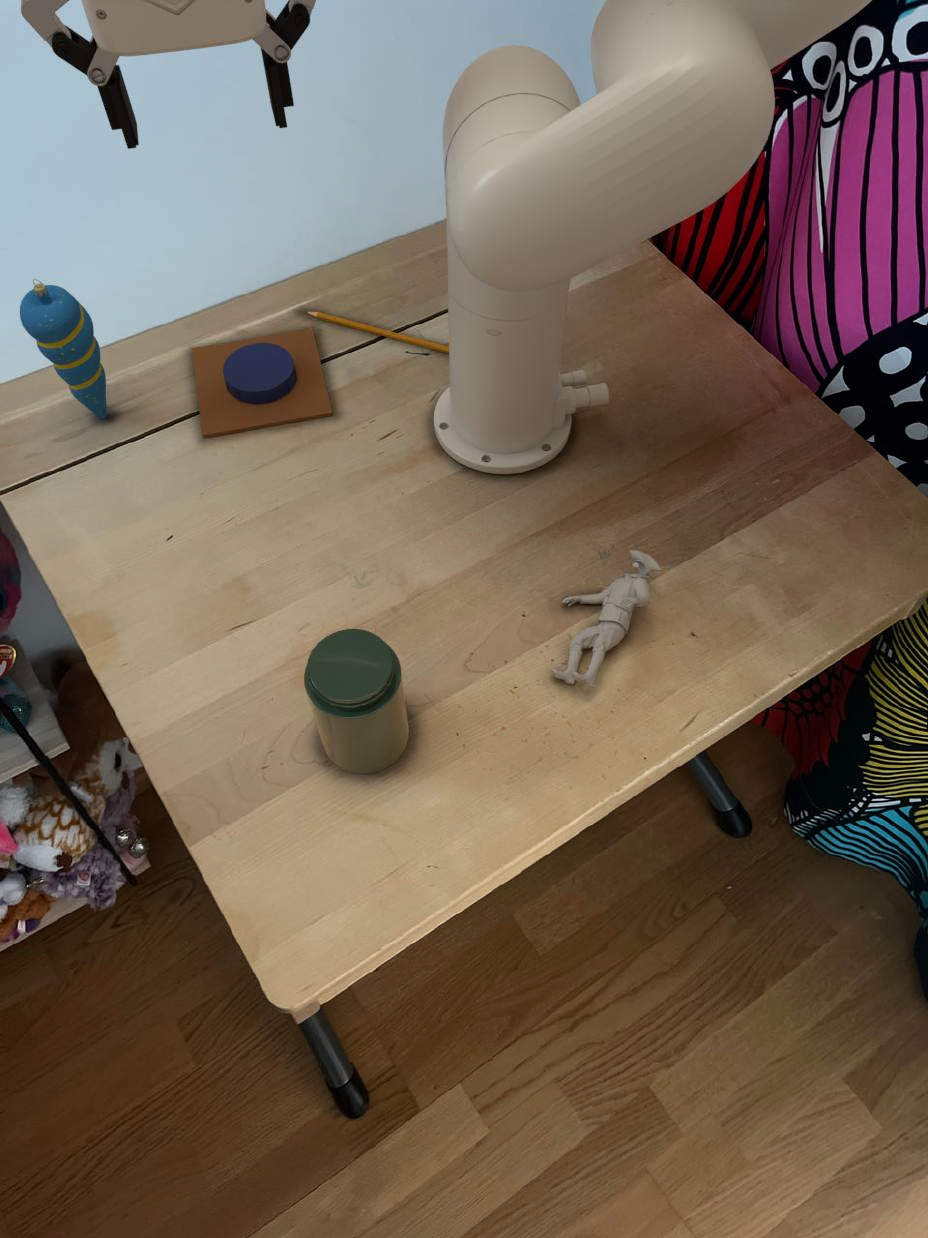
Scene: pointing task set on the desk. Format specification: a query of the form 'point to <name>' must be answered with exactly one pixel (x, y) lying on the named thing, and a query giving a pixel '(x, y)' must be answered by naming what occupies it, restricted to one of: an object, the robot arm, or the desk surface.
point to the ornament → (67, 342)
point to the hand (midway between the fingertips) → (206, 126)
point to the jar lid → (259, 373)
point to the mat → (236, 416)
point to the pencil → (380, 332)
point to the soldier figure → (608, 618)
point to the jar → (357, 700)
